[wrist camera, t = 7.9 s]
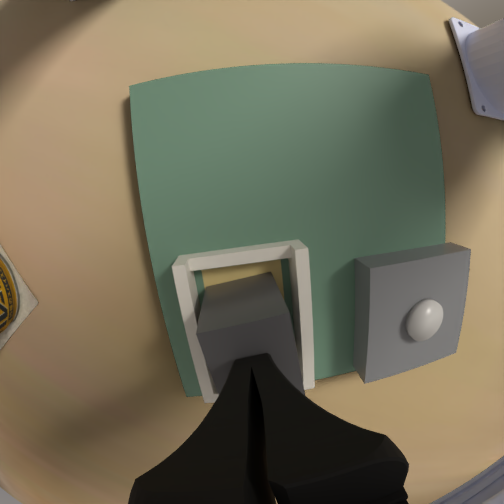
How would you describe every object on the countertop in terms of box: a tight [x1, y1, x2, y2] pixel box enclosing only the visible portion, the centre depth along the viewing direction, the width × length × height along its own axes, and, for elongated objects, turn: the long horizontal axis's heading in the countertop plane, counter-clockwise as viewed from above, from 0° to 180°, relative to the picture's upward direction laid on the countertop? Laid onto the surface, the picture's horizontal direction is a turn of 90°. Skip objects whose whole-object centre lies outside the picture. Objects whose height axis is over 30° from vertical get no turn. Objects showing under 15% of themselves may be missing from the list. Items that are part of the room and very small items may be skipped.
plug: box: [196, 272, 305, 395], centre depth 13 cm, size 3×5×6 cm
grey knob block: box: [353, 242, 471, 384], centre depth 15 cm, size 7×7×2 cm
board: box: [129, 63, 445, 403], centre depth 15 cm, size 17×18×3 cm
